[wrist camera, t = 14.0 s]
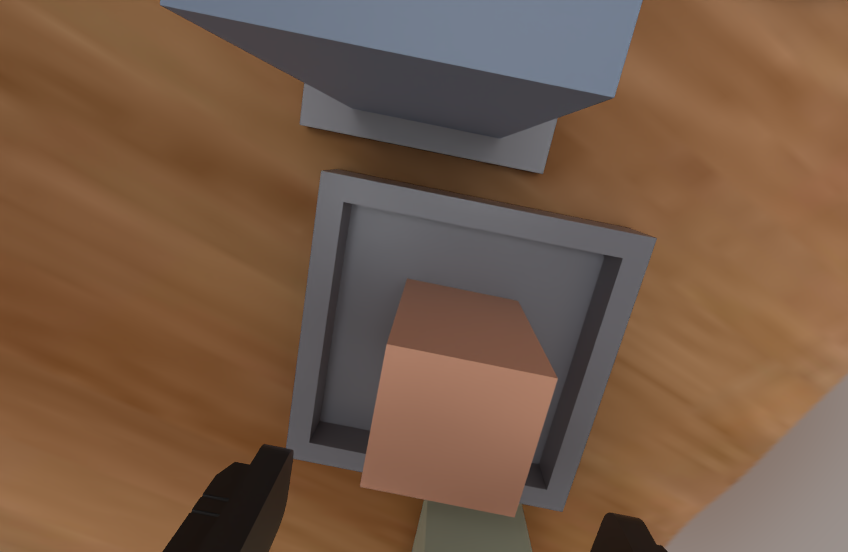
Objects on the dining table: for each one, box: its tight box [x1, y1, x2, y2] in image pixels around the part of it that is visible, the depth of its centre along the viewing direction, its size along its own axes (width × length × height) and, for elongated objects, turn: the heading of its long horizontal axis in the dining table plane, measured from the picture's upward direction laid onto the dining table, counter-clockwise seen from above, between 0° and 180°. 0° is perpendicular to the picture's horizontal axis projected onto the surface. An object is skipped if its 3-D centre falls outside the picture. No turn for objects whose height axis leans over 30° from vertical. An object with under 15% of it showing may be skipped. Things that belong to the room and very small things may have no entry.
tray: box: [286, 169, 657, 512], centre depth 19 cm, size 13×13×2 cm
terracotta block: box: [360, 278, 558, 518], centre depth 16 cm, size 5×5×7 cm
